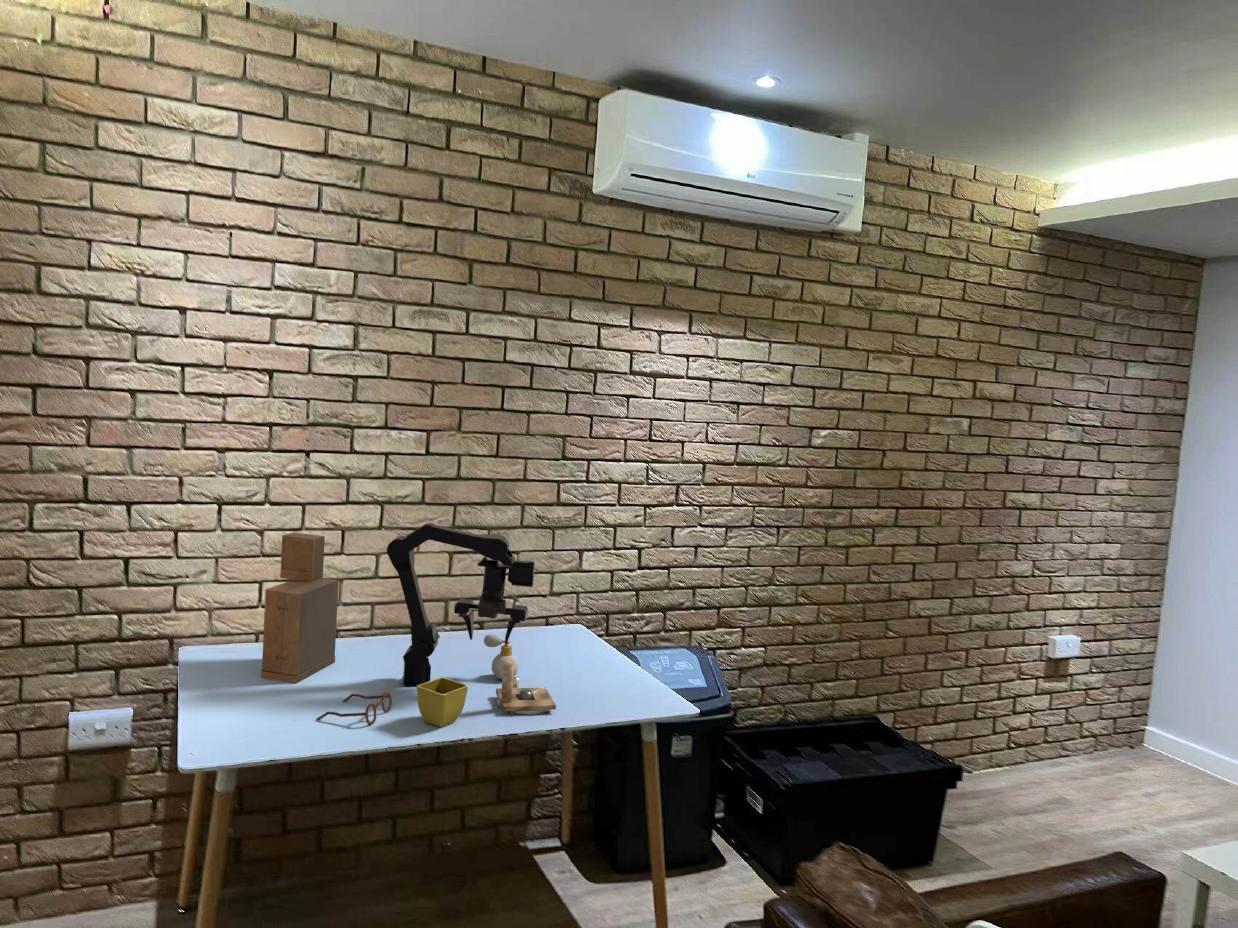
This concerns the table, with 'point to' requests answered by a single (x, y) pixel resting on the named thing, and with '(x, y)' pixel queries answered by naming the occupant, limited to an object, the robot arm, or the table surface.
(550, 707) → the flange plate
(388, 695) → the glasses
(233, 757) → the table surface
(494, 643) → the perfume bottle
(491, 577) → the robot arm
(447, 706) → the flower pot
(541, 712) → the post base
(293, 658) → the stacked wooden blocks
